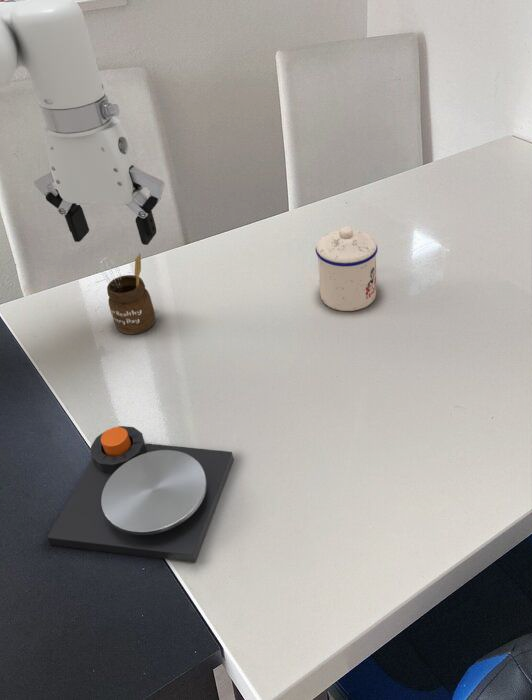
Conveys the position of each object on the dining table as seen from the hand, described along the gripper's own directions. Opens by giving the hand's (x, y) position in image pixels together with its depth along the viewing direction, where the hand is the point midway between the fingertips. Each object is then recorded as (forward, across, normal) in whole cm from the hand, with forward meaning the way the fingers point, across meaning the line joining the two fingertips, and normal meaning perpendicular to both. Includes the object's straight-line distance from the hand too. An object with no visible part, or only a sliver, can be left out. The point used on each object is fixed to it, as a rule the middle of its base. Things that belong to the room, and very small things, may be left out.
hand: (115, 238), depth 92 cm
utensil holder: (+15, +1, 0) cm, 15 cm away
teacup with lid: (+15, -29, -12) cm, 35 cm away
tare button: (+12, -8, +26) cm, 30 cm away
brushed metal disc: (+12, -16, +32) cm, 38 cm away
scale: (+14, -13, +31) cm, 37 cm away
